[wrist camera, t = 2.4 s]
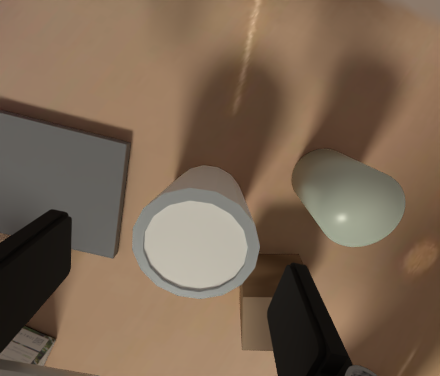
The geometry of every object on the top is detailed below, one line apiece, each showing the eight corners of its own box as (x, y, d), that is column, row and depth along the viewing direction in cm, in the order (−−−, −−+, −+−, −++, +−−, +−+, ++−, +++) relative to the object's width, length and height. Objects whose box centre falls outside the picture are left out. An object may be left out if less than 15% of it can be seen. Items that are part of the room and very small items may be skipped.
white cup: (249, 155, 18) (260, 186, 12) (250, 235, 20) (260, 300, 14) (158, 159, 18) (119, 191, 12) (169, 237, 21) (141, 301, 14)
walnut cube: (298, 253, 21) (318, 298, 16) (293, 299, 23) (310, 351, 18) (240, 253, 21) (242, 297, 16) (239, 298, 23) (242, 350, 18)
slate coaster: (130, 142, 18) (126, 144, 17) (117, 253, 21) (113, 258, 21) (-6, 108, 18) (-16, 108, 17) (2, 226, 21) (-6, 231, 20)
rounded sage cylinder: (360, 156, 18) (421, 182, 12) (336, 209, 19) (381, 254, 14) (303, 142, 18) (338, 161, 12) (283, 196, 19) (306, 236, 13)
